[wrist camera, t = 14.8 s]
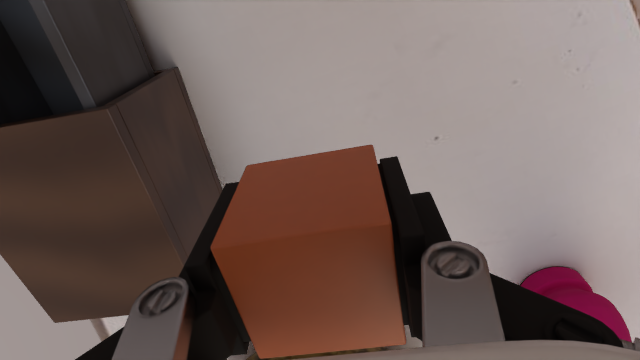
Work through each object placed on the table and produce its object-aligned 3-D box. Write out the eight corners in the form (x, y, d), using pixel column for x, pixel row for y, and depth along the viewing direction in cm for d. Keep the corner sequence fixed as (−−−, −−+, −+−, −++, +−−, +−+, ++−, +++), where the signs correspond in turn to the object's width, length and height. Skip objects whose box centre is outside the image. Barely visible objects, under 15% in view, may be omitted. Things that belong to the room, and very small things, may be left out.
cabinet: (37, 93, 28) (-89, 143, 20) (177, 66, 27) (107, 108, 18) (120, 240, 35) (54, 323, 27) (235, 225, 34) (203, 307, 25)
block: (246, 164, 11) (208, 247, 8) (372, 143, 11) (391, 222, 7) (278, 259, 13) (258, 359, 10) (386, 245, 13) (406, 345, 9)
